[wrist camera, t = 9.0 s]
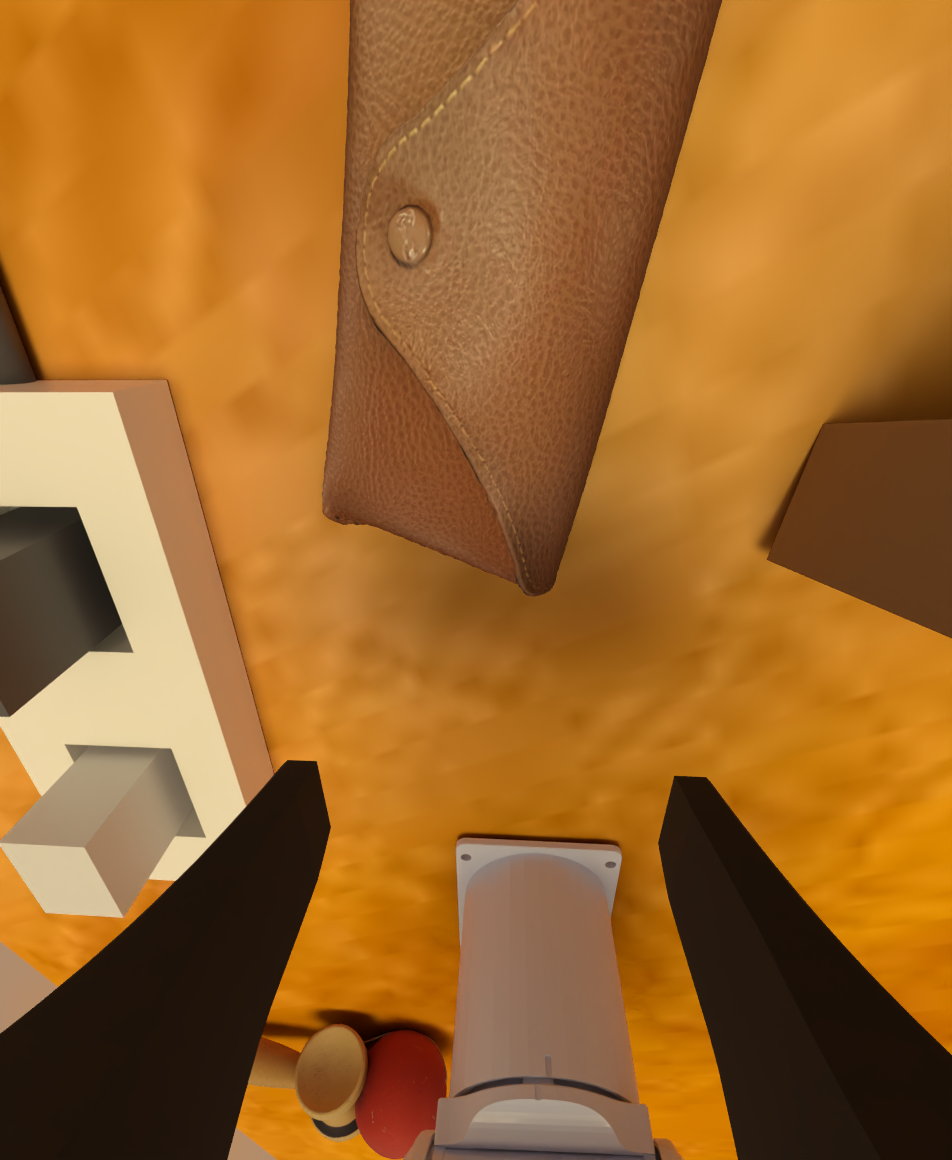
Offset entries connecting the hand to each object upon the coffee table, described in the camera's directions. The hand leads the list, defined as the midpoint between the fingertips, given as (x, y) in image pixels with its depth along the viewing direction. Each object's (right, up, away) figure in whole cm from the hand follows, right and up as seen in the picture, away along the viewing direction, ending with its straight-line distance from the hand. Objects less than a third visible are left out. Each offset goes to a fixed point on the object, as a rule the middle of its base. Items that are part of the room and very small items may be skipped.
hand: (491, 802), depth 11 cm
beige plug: (-14, -3, +13) cm, 19 cm away
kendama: (-11, -27, +27) cm, 40 cm away
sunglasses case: (0, +14, +4) cm, 14 cm away
